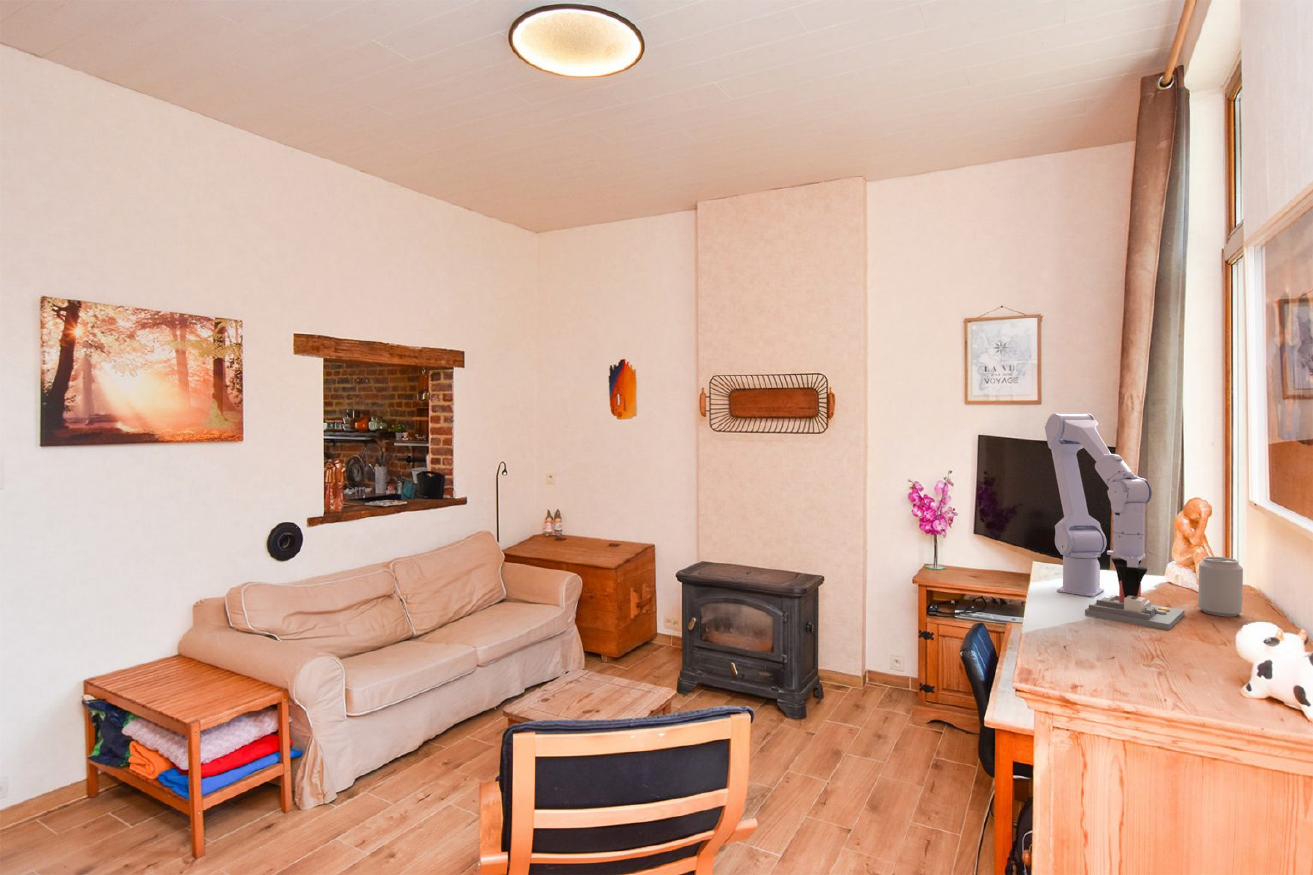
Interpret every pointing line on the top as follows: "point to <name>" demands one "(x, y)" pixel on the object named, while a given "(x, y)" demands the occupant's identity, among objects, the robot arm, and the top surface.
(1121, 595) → the red rounded cube
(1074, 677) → the top surface
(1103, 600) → the panel
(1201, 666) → the top surface
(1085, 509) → the robot arm
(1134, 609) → the breaker
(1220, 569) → the can
